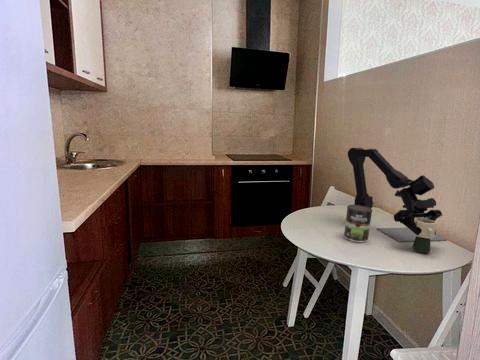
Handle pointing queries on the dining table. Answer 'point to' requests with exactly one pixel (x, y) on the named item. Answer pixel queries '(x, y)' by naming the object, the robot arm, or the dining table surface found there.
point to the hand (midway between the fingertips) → (426, 234)
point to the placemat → (405, 234)
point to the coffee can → (357, 223)
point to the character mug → (424, 234)
